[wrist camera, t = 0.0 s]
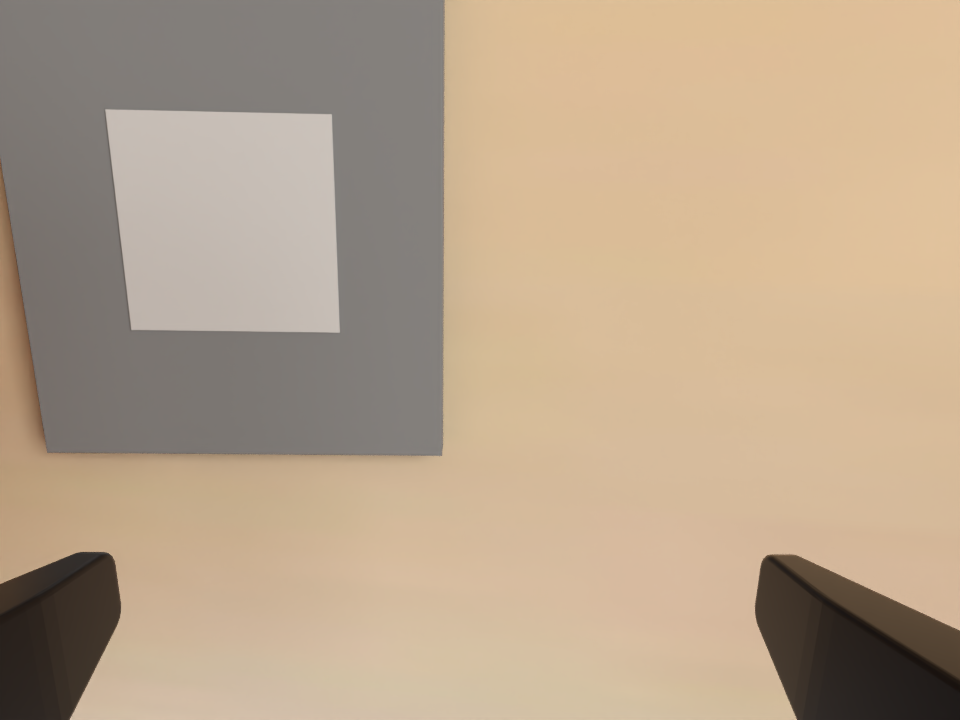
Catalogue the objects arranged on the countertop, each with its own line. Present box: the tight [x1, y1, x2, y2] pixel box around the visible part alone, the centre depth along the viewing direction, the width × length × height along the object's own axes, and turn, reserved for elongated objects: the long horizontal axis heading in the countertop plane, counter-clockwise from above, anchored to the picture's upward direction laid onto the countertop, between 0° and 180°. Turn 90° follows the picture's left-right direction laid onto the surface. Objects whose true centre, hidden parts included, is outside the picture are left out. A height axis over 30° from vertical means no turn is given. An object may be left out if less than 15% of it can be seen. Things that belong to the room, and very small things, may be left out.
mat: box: [0, 0, 444, 456], centre depth 21 cm, size 16×14×1 cm
